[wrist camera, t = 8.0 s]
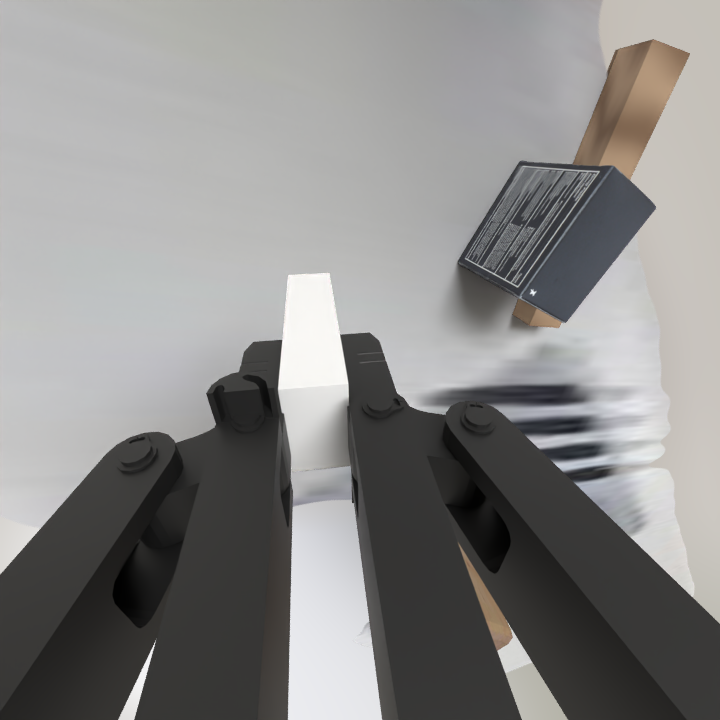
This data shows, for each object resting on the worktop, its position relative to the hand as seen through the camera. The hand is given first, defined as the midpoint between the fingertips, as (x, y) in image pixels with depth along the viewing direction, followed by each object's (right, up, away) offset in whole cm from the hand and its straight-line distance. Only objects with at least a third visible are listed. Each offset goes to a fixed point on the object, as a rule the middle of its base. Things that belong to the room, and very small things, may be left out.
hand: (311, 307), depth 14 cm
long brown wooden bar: (+23, +14, +23) cm, 35 cm away
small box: (+17, +11, +22) cm, 30 cm away
